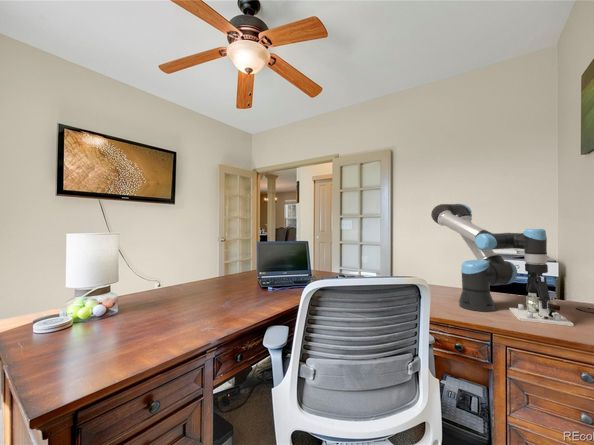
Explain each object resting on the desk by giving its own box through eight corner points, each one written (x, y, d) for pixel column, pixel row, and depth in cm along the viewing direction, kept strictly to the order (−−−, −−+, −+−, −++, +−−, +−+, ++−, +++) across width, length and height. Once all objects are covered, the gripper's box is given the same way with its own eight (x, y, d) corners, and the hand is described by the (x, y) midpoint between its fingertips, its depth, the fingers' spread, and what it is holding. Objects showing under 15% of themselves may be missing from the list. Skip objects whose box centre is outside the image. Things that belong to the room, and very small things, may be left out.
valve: (520, 308, 123) (537, 318, 112) (520, 294, 123) (537, 303, 111) (537, 309, 122) (556, 319, 110) (537, 295, 121) (555, 303, 110)
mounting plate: (519, 320, 113) (519, 312, 113) (509, 309, 127) (509, 302, 127) (573, 326, 105) (573, 317, 105) (556, 314, 119) (555, 306, 119)
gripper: (559, 267, 104) (562, 321, 103) (536, 260, 126) (538, 304, 125) (535, 266, 107) (537, 319, 107) (516, 259, 129) (518, 303, 129)
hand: (538, 311), depth 116 cm, fingers open, 12 cm apart
